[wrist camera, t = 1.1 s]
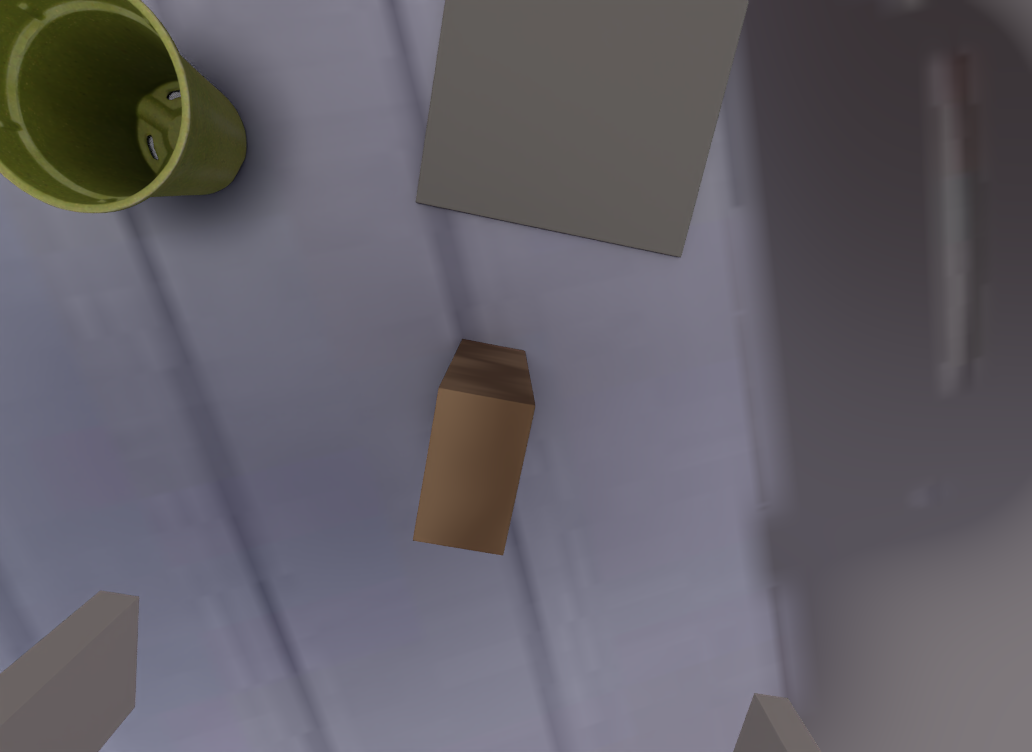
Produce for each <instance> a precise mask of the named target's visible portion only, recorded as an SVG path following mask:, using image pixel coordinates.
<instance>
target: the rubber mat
mask: <svg viewBox="0 0 1032 752" xmlns="http://www.w3.org/2000/svg"><path fill="white" fill-rule="evenodd" d="M748 2H749V0H445V6H444V13H443V20H442V27H441V34H440V40H439V47H438V54H437V61H436V68H435V74H434V81H433V88H432V95H431V102H430V108H429V115H428V122H427V129H426V135H425V142H424V149H423V156H422V163H421V169H420V176H419V183H418V190H417V197H416V202H417V203H421V204H426V205H430V206H435V207H440V208H445V209H450V210H454V211H459V212H464V213H469V214H474V215H479V216H483V217H488V218H493V219H498V220H503V221H507V222H512V223H517V224H522V225H527V226H531V227H536V228H541V229H546V230H551V231H555V232H560V233H565V234H570V235H575V236H580V237H584V238H589V239H594V240H599V241H604V242H608V243H613V244H618V245H623V246H628V247H632V248H637V249H642V250H647V251H652V252H656V253H661V254H666V255H671V256H676V257H681V255H682V251H683V248H684V244H685V240H686V236H687V233H688V229H689V225H690V221H691V217H692V214H693V210H694V206H695V202H696V199H697V195H698V191H699V187H700V183H701V180H702V176H703V172H704V168H705V165H706V161H707V157H708V153H709V150H710V146H711V142H712V138H713V134H714V131H715V127H716V123H717V119H718V116H719V112H720V108H721V104H722V100H723V97H724V93H725V89H726V85H727V82H728V78H729V74H730V70H731V66H732V63H733V59H734V55H735V51H736V48H737V44H738V40H739V36H740V32H741V29H742V25H743V21H744V17H745V14H746V10H747V6H748Z"/></svg>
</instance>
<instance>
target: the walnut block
mask: <svg viewBox="0 0 1032 752" xmlns="http://www.w3.org/2000/svg"><path fill="white" fill-rule="evenodd" d="M534 410H535V401H534V396H533V391H532V385H531V380H530V375H529V370H528V364H527V359H526V354H525V351H523V350H518V349H513V348H508V347H502V346H497V345H492V344H487V343H482V342H476V341H471V340H466V339H462V341H461V343H460V345H459V347H458V349H457V351H456V353H455V355H454V358H453V360H452V362H451V364H450V366H449V368H448V370H447V372H446V374H445V376H444V378H443V380H442V382H441V384H440V386H439V389H438V395H437V401H436V407H435V413H434V419H433V425H432V431H431V436H430V442H429V448H428V454H427V460H426V466H425V472H424V478H423V483H422V489H421V495H420V501H419V507H418V513H417V519H416V525H415V531H414V536H413V541H419V542H425V543H431V544H437V545H443V546H449V547H455V548H461V549H467V550H473V551H479V552H485V553H491V554H497V555H503V553H504V549H505V544H506V540H507V535H508V530H509V526H510V521H511V516H512V512H513V507H514V503H515V498H516V493H517V489H518V484H519V479H520V475H521V470H522V465H523V461H524V456H525V452H526V447H527V442H528V438H529V433H530V428H531V424H532V419H533V415H534Z"/></svg>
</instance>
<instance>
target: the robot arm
mask: <svg viewBox="0 0 1032 752" xmlns="http://www.w3.org/2000/svg"><path fill="white" fill-rule="evenodd" d="M138 613H139V597H138V596H132V595H125V594H119V593H113V592H106V591H99V592H98V593H97V594H96V595H95V596H93V597H92V598H91V599H90V600H88V601H87V602H86V603H85V604H84V605H82V606H81V607H80V608H79V609H78V610H76V611H75V612H74V613H73V614H72V615H70V616H69V617H68V618H67V619H66V620H64V621H63V622H62V623H61V624H60V625H58V626H57V627H56V628H55V629H54V630H52V631H51V632H50V633H49V634H48V635H46V636H45V637H44V638H43V639H42V640H40V641H39V642H38V643H37V644H36V645H34V646H33V647H32V648H31V649H30V650H28V651H27V652H26V653H25V654H24V655H22V656H21V657H20V658H19V659H18V660H16V661H15V662H14V663H13V664H12V665H10V666H9V667H8V668H7V669H6V670H4V671H3V672H2V673H1V674H0V752H98V751H99V750H100V749H101V748H102V746H103V745H104V744H105V743H106V742H107V740H108V739H109V738H110V737H111V735H112V734H113V733H114V732H115V731H116V729H117V728H118V727H119V726H120V724H121V723H122V722H123V721H124V720H125V718H126V717H127V716H128V715H129V713H130V712H131V711H132V710H133V709H134V707H135V693H136V666H137V639H138ZM733 752H821V751H820V749H819V747H818V746H817V744H816V743H815V741H814V739H813V738H812V736H811V735H810V733H809V731H808V730H807V728H806V727H805V725H804V723H803V722H802V720H801V719H800V717H799V715H798V714H797V712H796V711H795V709H794V707H793V706H792V704H791V703H790V701H789V700H788V698H782V697H776V696H770V695H763V694H757V693H754V696H753V699H752V701H751V704H750V707H749V710H748V712H747V715H746V718H745V721H744V723H743V726H742V729H741V732H740V734H739V737H738V740H737V743H736V745H735V748H734V751H733Z"/></svg>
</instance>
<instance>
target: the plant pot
mask: <svg viewBox="0 0 1032 752" xmlns="http://www.w3.org/2000/svg"><path fill="white" fill-rule="evenodd" d="M176 90H180V93H181V97H178V98H175V99H173V100H168V99H167V96H168V94H169V93H170V92H173V91H176ZM148 135H151V136H152V138H153V143H154V149H155V151H156V154H157V156H158V158H159V159H158V160H156V159H154V158H153V156H152V155H151V152H150V150H149V147H148V143H147V138H148ZM245 156H246V134H245V129H244V126H243V123H242V121H241V119H240V116H239V114H238V112H237V111H236V109H235V108H234V106H233V105H232V104H231V102H230V101H229V100H228V99H227V98H226V97H225V96H224V95H223V94H222V93H221V92H220V91H219V90H218V89H217V88H215V87H214V86H213V85H212V84H211V83H210V82H209V81H208V80H206V79H205V78H204V77H203V76H202V75H201V74H200V73H199V72H198V71H197V70H196V69H194V68H193V67H192V66H191V65H190V64H189V63H188V62H187V61H186V60H185V59H184V58H183V57H182V56H181V55H180V54H179V52H178V50H177V48H176V45H175V43H174V42H173V40H172V38H171V37H170V35H169V33H168V32H167V30H166V29H165V27H164V26H163V24H162V23H161V22H160V21H159V19H158V18H157V17H156V16H155V15H154V13H153V12H152V11H151V10H150V9H149V8H148V7H147V6H146V5H145V4H144V3H143V2H142V1H141V0H0V173H1V174H2V175H3V176H4V177H6V178H7V179H8V180H9V181H10V182H12V183H13V184H14V185H16V186H17V187H18V188H20V189H21V190H23V191H24V192H26V193H28V194H29V195H31V196H33V197H35V198H37V199H39V200H41V201H42V202H44V203H47V204H49V205H52V206H54V207H57V208H61V209H65V210H69V211H74V212H83V213H108V212H115V211H119V210H124V209H126V208H129V207H132V206H134V205H137V204H139V203H141V202H143V201H145V200H146V199H148V198H149V197H161V196H181V195H206V194H211V193H215V192H217V191H219V190H221V189H223V188H225V187H226V186H228V185H229V184H230V183H231V182H232V181H233V179H234V178H235V176H236V174H237V172H238V170H239V168H240V167H241V165H242V163H243V161H244V159H245Z"/></svg>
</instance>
